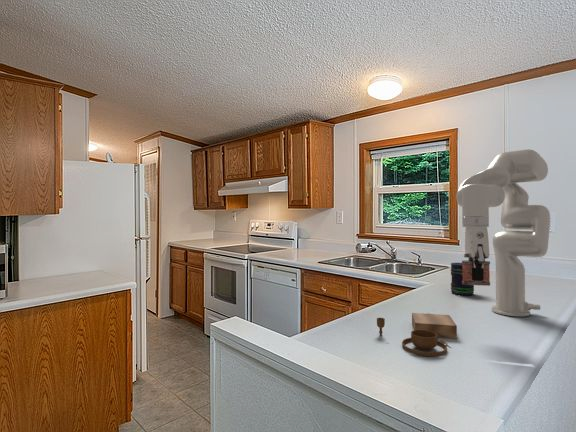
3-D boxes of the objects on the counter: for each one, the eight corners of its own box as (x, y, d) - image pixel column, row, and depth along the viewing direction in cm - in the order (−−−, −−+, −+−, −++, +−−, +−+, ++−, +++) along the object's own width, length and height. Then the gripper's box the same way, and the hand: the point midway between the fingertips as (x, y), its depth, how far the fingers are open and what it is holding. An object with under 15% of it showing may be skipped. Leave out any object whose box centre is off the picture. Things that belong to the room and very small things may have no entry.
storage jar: (475, 294, 166) (474, 263, 166) (473, 298, 158) (472, 265, 158) (452, 292, 171) (451, 262, 171) (449, 296, 163) (449, 264, 163)
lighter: (488, 284, 112) (488, 253, 112) (491, 286, 108) (491, 254, 108) (461, 282, 114) (460, 252, 114) (463, 284, 111) (462, 253, 111)
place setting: (406, 361, 91) (406, 339, 91) (373, 336, 110) (372, 317, 110) (465, 356, 94) (464, 334, 94) (422, 332, 114) (422, 314, 114)
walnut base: (449, 326, 117) (449, 315, 117) (456, 338, 106) (456, 325, 106) (411, 324, 120) (411, 312, 120) (415, 335, 109) (415, 322, 109)
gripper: (497, 222, 102) (497, 284, 102) (480, 222, 118) (480, 275, 118) (469, 222, 104) (469, 283, 104) (456, 222, 120) (457, 275, 120)
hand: (475, 278), depth 111 cm, fingers closed on lighter, 3 cm apart
